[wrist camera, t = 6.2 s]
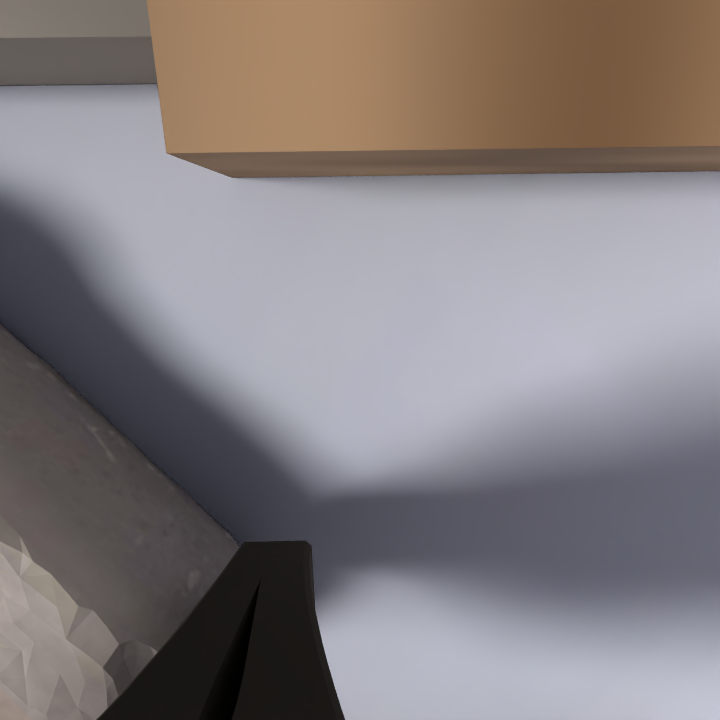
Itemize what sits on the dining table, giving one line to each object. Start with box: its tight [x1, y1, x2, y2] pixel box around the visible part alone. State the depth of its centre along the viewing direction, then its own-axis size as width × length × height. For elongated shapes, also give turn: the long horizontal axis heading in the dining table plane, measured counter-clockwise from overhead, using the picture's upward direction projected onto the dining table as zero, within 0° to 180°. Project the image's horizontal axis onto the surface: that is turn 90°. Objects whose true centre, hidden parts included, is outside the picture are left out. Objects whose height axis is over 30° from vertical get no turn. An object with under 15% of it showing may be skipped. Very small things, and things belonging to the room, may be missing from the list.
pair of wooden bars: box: [147, 0, 720, 178], centre depth 9 cm, size 19×18×3 cm
